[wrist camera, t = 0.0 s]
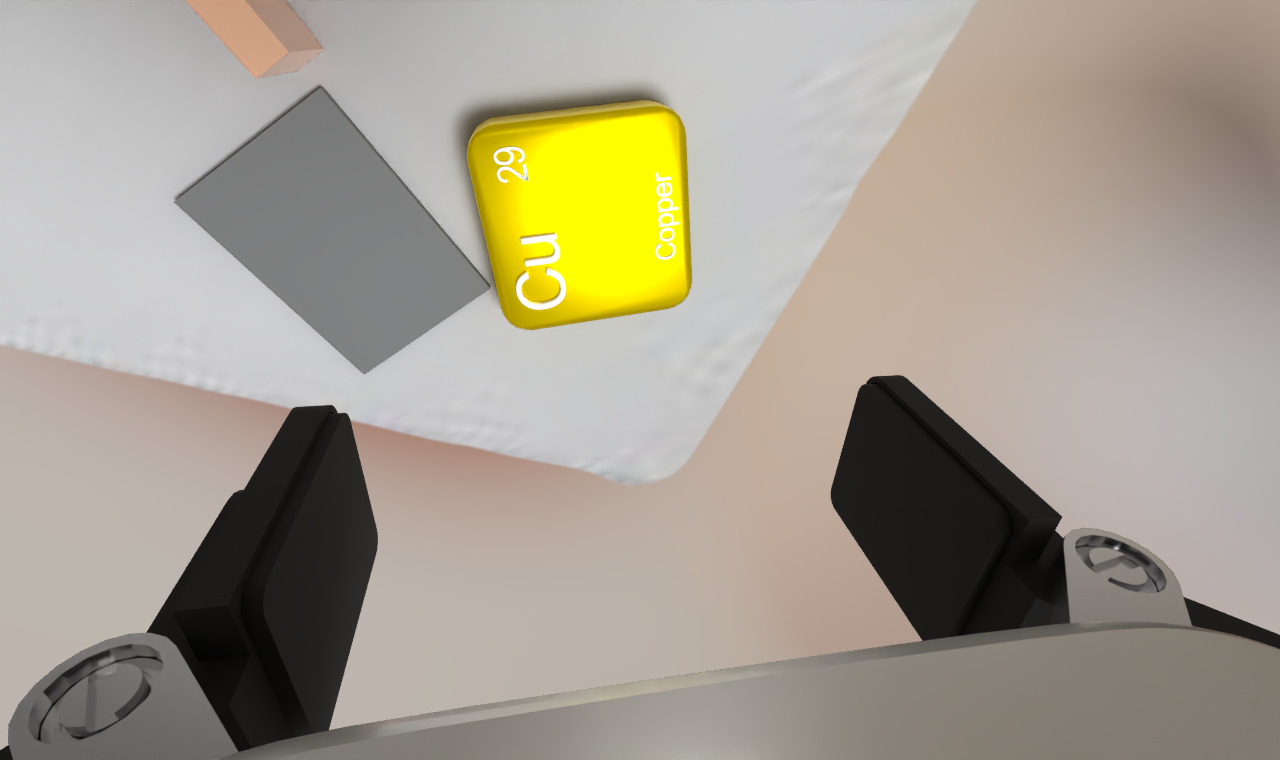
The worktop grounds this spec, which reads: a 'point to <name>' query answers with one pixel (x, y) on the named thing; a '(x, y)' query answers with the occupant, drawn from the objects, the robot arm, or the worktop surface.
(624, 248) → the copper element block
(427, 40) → the worktop surface
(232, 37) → the block
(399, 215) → the mat
